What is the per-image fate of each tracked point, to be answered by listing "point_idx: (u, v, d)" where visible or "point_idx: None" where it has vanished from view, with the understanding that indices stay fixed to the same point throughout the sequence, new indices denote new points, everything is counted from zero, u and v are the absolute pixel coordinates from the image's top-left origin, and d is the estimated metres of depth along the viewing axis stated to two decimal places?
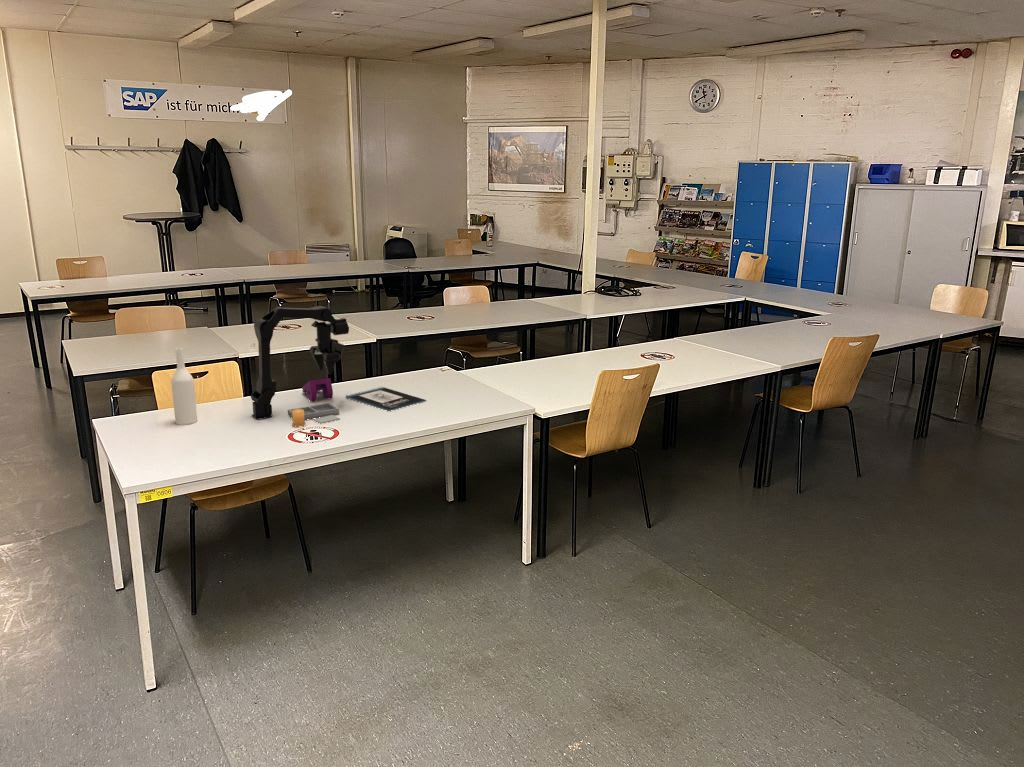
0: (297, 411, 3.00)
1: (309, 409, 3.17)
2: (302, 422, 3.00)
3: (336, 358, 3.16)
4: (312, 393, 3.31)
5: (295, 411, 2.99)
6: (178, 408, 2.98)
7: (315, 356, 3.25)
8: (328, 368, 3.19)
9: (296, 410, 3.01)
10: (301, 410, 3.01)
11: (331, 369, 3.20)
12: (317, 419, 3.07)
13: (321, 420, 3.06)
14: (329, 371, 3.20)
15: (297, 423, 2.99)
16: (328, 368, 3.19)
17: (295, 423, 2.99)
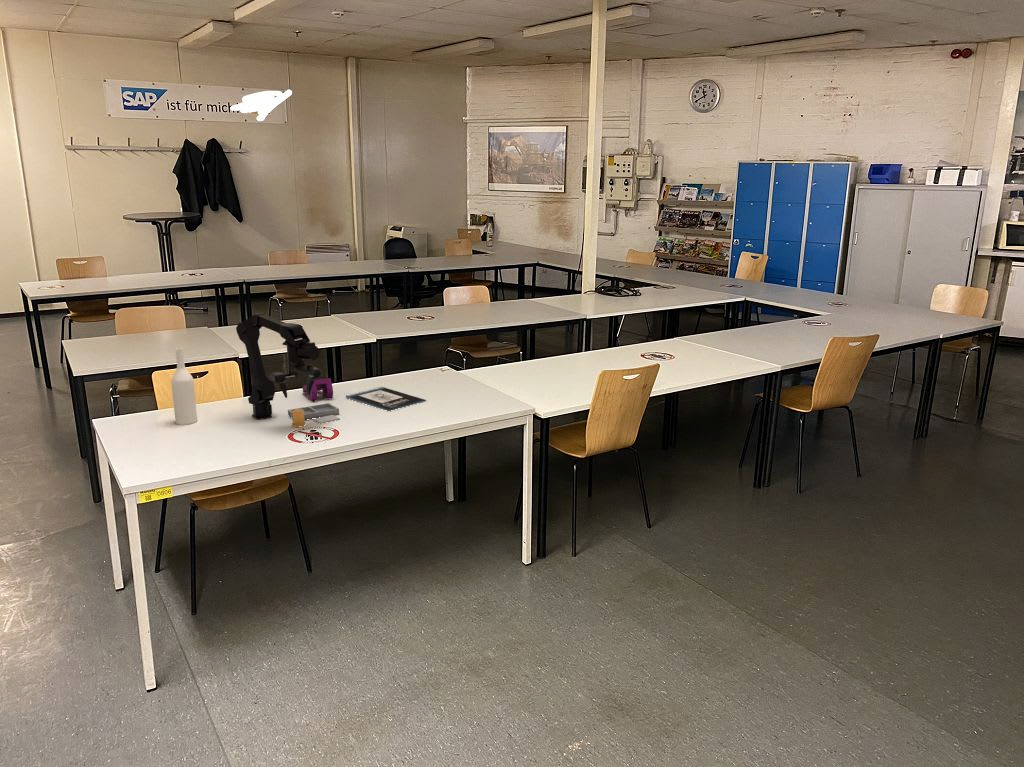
0: (297, 411, 3.00)
1: (309, 409, 3.17)
2: (302, 422, 3.00)
3: (273, 380, 2.91)
4: (312, 393, 3.31)
5: (295, 411, 2.99)
6: (178, 408, 2.98)
7: None
8: (281, 389, 2.96)
9: (296, 410, 3.01)
10: (301, 410, 3.01)
11: (283, 392, 2.95)
12: (317, 419, 3.07)
13: (321, 420, 3.06)
14: (283, 393, 2.96)
15: (297, 423, 2.99)
16: None
17: (295, 423, 2.99)
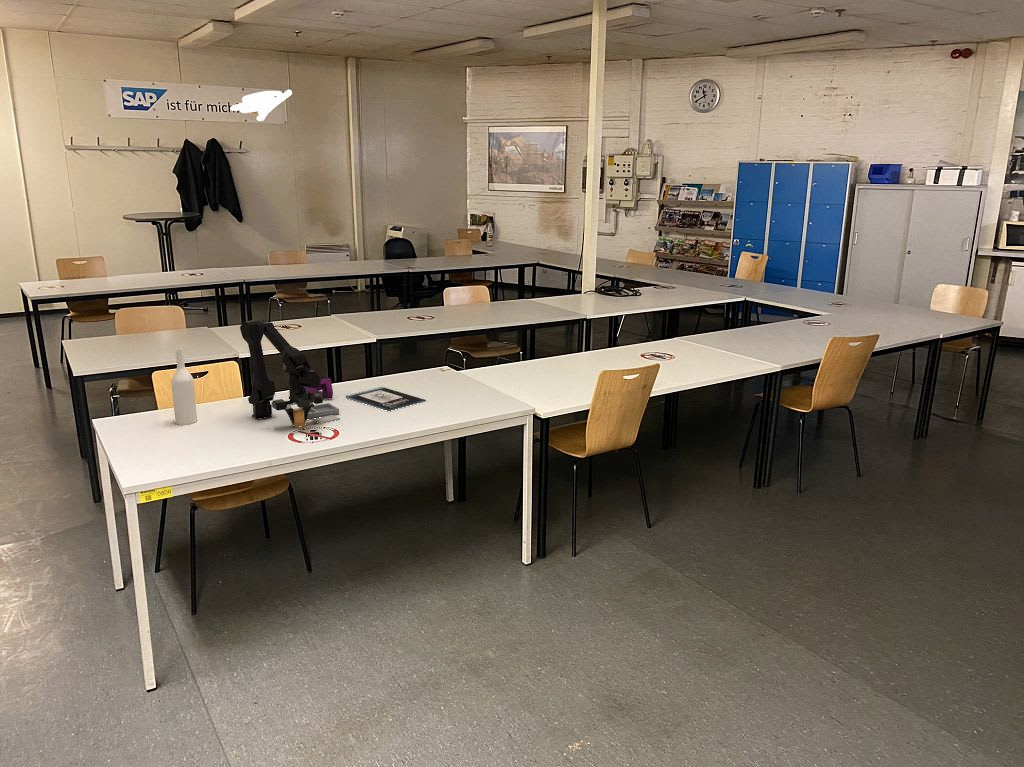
0: (297, 410, 3.00)
1: None
2: (302, 422, 3.00)
3: (275, 408, 2.93)
4: None
5: (295, 411, 2.99)
6: (178, 408, 2.98)
7: None
8: (288, 415, 3.00)
9: (296, 410, 3.01)
10: (301, 410, 3.01)
11: (290, 418, 2.99)
12: (317, 419, 3.07)
13: (321, 420, 3.06)
14: (290, 419, 3.00)
15: (297, 423, 2.99)
16: None
17: (295, 423, 2.99)
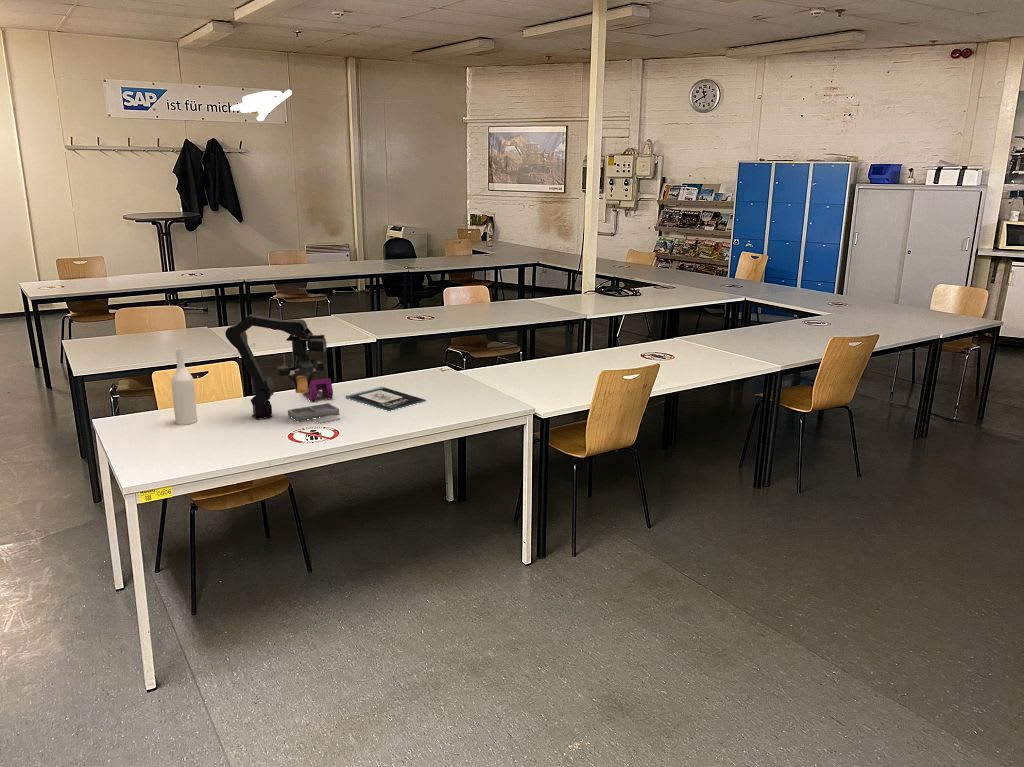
0: (301, 377, 3.07)
1: (309, 409, 3.17)
2: (305, 388, 3.08)
3: (279, 373, 3.01)
4: (312, 393, 3.31)
5: (298, 377, 3.07)
6: (178, 408, 2.98)
7: None
8: (292, 382, 3.07)
9: (299, 377, 3.08)
10: (304, 377, 3.08)
11: (293, 384, 3.06)
12: (317, 419, 3.07)
13: (321, 420, 3.06)
14: (293, 385, 3.07)
15: (300, 389, 3.07)
16: (292, 382, 3.07)
17: (298, 389, 3.07)
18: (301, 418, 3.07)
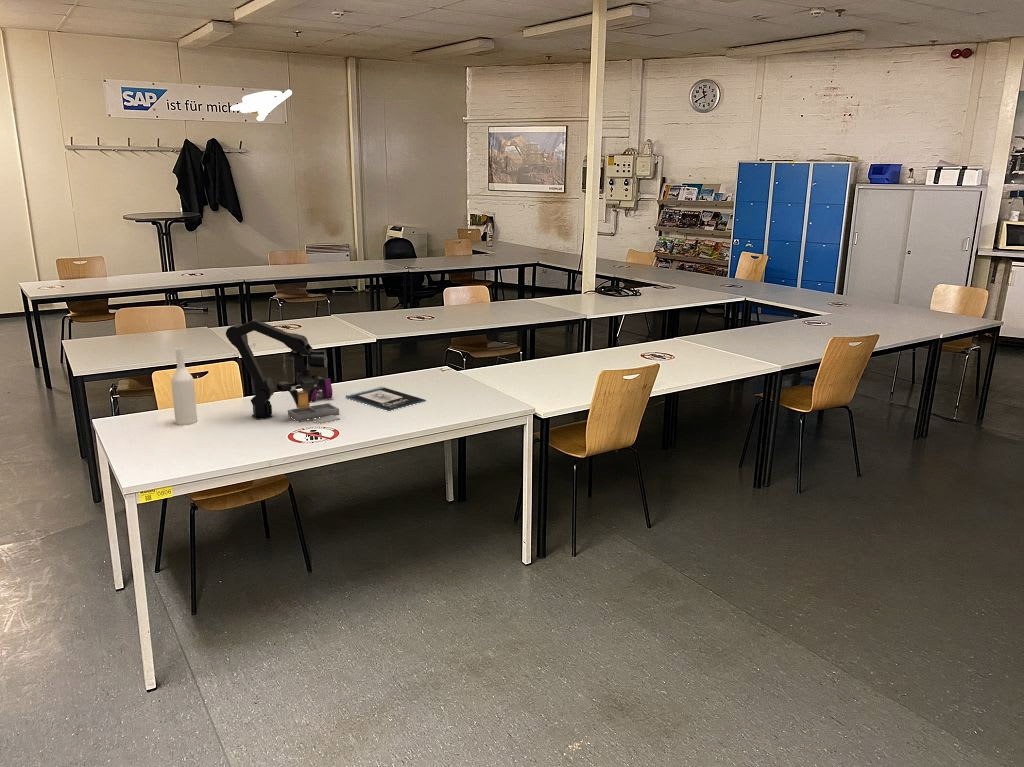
0: (301, 392, 3.09)
1: (309, 409, 3.17)
2: (306, 403, 3.09)
3: (280, 389, 3.03)
4: None
5: (299, 393, 3.09)
6: (178, 408, 2.98)
7: None
8: (293, 397, 3.09)
9: (300, 392, 3.10)
10: (305, 392, 3.10)
11: (294, 399, 3.08)
12: (317, 419, 3.07)
13: (321, 420, 3.06)
14: None
15: (301, 404, 3.09)
16: (293, 397, 3.09)
17: (299, 404, 3.09)
18: (301, 418, 3.07)
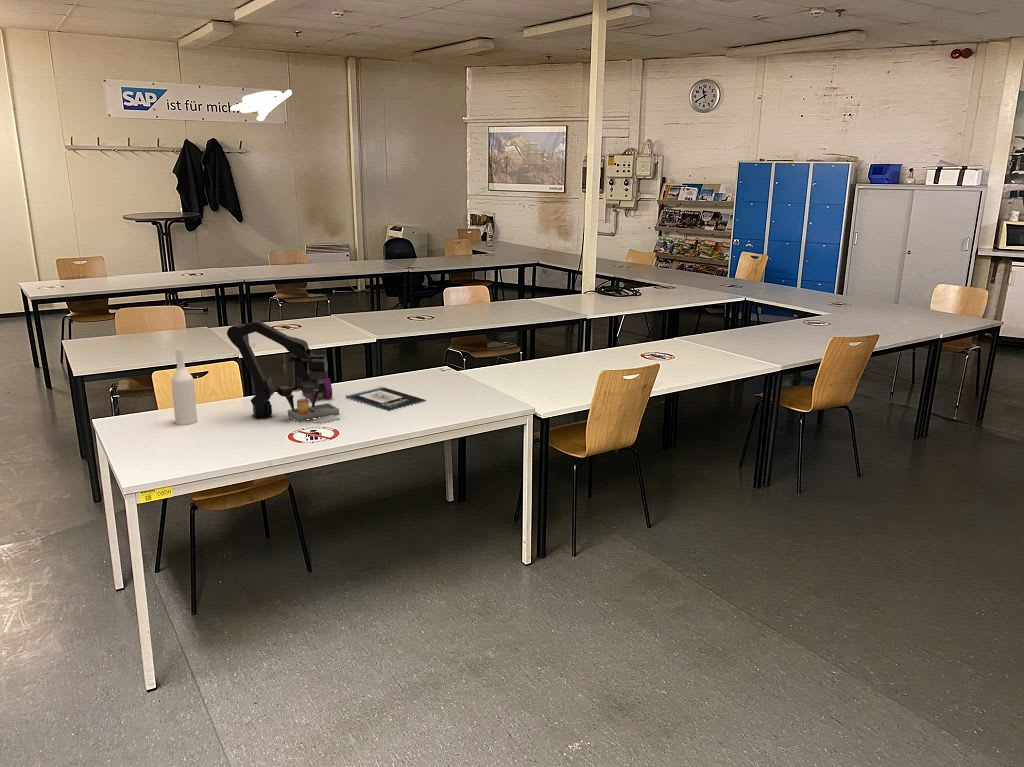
0: (302, 400, 3.10)
1: (309, 409, 3.17)
2: (306, 411, 3.10)
3: (280, 394, 3.03)
4: None
5: (300, 401, 3.09)
6: (178, 408, 2.98)
7: None
8: (289, 402, 3.08)
9: (300, 400, 3.11)
10: (305, 400, 3.11)
11: (290, 405, 3.07)
12: (317, 419, 3.07)
13: (321, 420, 3.06)
14: None
15: (302, 412, 3.09)
16: (289, 402, 3.08)
17: (300, 412, 3.10)
18: (301, 418, 3.07)
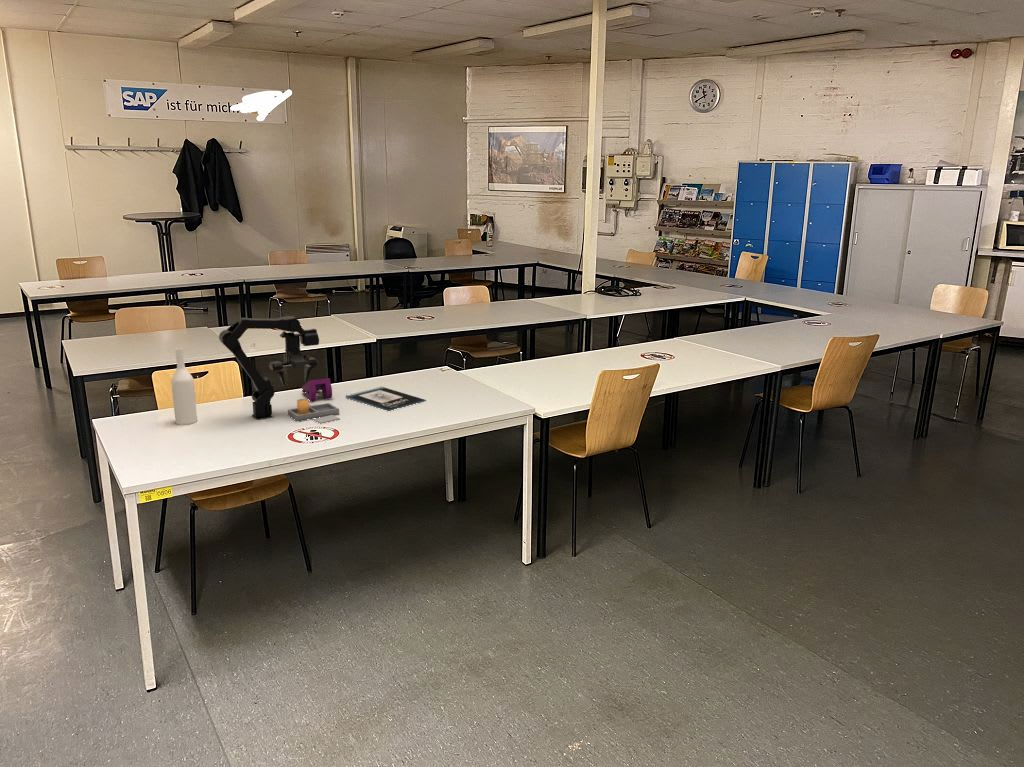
0: (302, 400, 3.10)
1: (309, 409, 3.17)
2: (306, 411, 3.10)
3: (271, 368, 3.08)
4: (311, 393, 3.31)
5: (300, 401, 3.09)
6: (178, 408, 2.98)
7: None
8: None
9: (300, 400, 3.11)
10: (305, 400, 3.11)
11: (281, 380, 3.12)
12: (317, 419, 3.07)
13: (321, 420, 3.06)
14: (281, 381, 3.13)
15: (302, 412, 3.09)
16: (280, 378, 3.13)
17: (300, 412, 3.10)
18: (301, 418, 3.07)
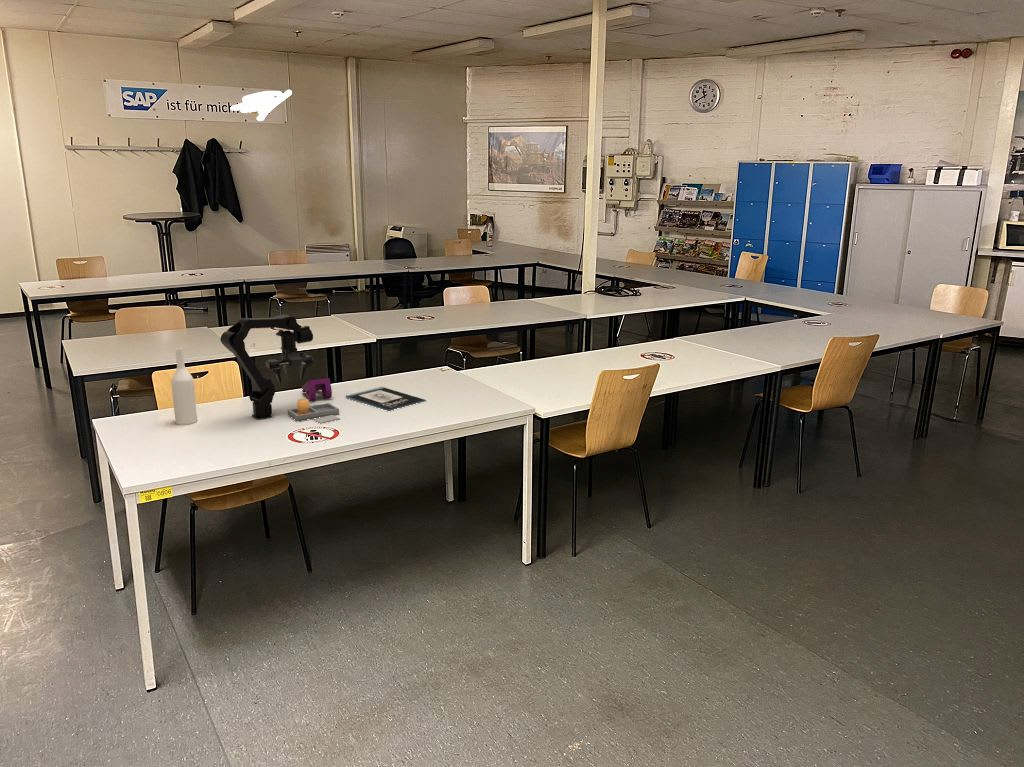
0: (302, 400, 3.10)
1: (309, 409, 3.17)
2: (306, 411, 3.10)
3: (268, 367, 3.11)
4: (311, 393, 3.31)
5: (300, 401, 3.09)
6: (178, 408, 2.98)
7: (299, 364, 3.22)
8: (276, 375, 3.16)
9: (301, 400, 3.11)
10: (306, 400, 3.11)
11: (277, 378, 3.15)
12: (317, 419, 3.07)
13: (321, 420, 3.06)
14: None
15: (302, 412, 3.09)
16: (276, 375, 3.16)
17: (300, 412, 3.10)
18: (301, 418, 3.07)
